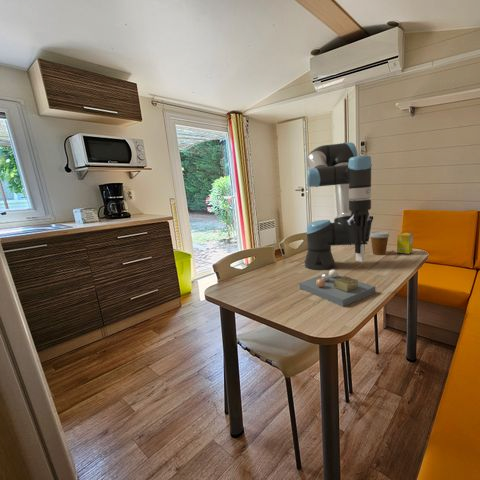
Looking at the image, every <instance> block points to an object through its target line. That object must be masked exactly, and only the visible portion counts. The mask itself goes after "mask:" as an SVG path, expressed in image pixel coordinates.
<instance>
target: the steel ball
mask: <svg viewBox="0 0 480 480" xmlns="http://www.w3.org/2000/svg"><path fill="white" fill-rule="evenodd" d="M327 273H328V272H324V273H322V274H321V275H322V276H321V275H320V276H321V278H322V279H323V280H324V281H329V279H330V276H329V274H327Z"/></svg>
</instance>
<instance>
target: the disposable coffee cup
mask: <svg viewBox="0 0 480 480" xmlns="http://www.w3.org/2000/svg"><path fill="white" fill-rule="evenodd" d="M389 237H390V233H389V232H388V231H381V230H380V231H377V230H376V231H370V236H369V238H370V241H371V247H372V248H371V249H372V250H371V251H372V254H373V255H376V256H384V255H386V253H387V246H388V240H389Z"/></svg>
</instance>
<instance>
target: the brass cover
mask: <svg viewBox="0 0 480 480" xmlns="http://www.w3.org/2000/svg"><path fill="white" fill-rule="evenodd" d="M358 281H359V280H358V279H355V278H352V277H348V276H345V275H344V276H342V277H341V278H338V279H335V280H334V287H335V288H338V289H341V290H343V291H346V292H348V291H351V290H353V289H356V288H358Z"/></svg>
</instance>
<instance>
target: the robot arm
mask: <svg viewBox="0 0 480 480" xmlns="http://www.w3.org/2000/svg"><path fill="white" fill-rule="evenodd" d="M306 164H307V166H308V169H307V171H306V179H307V181H306V182H307V186H308V187H311V188H313V187H315V188H317V187H325V186H326V187H327V186H334V192H335V193H334V194H335V205H336V206H335V208H336V217H334V219H333V222H331V220H330V219H321V220H314V221H312V222H309V223H308V224H306V244H307V245H306V246H307V248H306V249H307V252H306V256H305V260H304V267H305V268H306V269H311V270H315V271H316V270H317V271H319V270H320V271H321V270H323V271H324V270H329V269H330V270H331V269H333V268H334V267H335V266H336V260H335V259H334V257H333V256H334V255H333V253H332V246H333V247H334V246H354V252H355V261H356V262H361V263H363V262H365V251H366V249H365V248H366V247H365V246H366V245H368V242H369V241H370V234H371V230H372V229H371V228H372V223H373V220H374V216H373V215H370V212H369V211H370V210H371V209H372V200H371V198H372V167H373V164H372V156H370V155H358V150H357V147H356V144H355V143H353V142H350V141H349V142H341V143H334V144H326V145H320V146H318V147H316V148H314V149H313V150H311V151H310V152H309V154H308V155H307V157H306Z"/></svg>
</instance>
